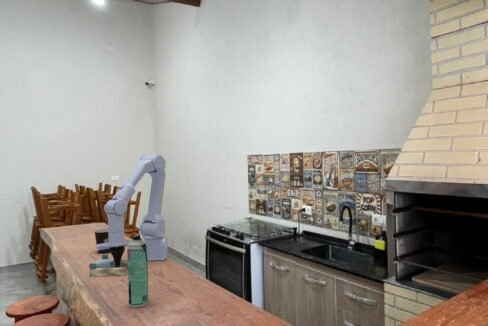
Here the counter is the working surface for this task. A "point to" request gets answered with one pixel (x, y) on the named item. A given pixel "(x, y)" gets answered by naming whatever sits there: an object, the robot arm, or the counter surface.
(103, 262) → the block
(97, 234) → the coffee mug
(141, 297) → the spray can
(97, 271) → the channel
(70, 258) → the counter surface
